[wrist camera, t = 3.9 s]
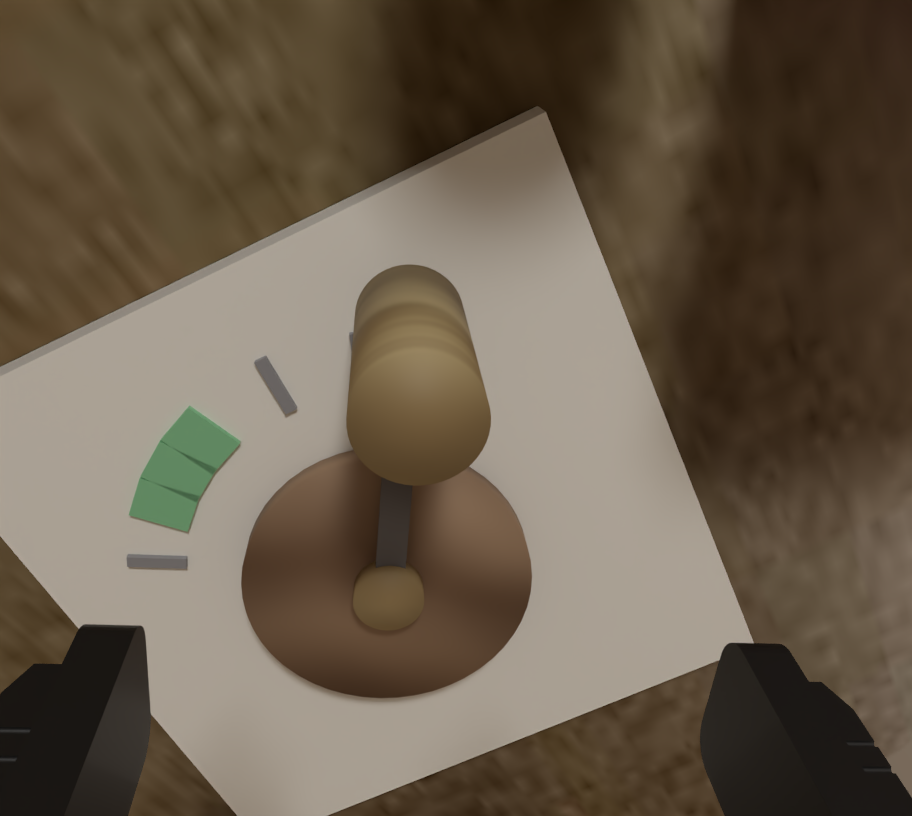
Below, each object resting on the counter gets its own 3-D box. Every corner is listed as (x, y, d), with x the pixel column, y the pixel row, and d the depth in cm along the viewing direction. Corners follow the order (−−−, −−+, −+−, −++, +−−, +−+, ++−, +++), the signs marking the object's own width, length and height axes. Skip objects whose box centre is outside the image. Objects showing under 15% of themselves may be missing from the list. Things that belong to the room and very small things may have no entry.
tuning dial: (510, 681, 34) (547, 880, 26) (246, 676, 33) (205, 882, 25) (575, 263, 27) (651, 368, 19) (242, 239, 26) (183, 341, 18)
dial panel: (-74, 402, 29) (-100, 425, 27) (537, 106, 26) (546, 112, 25) (264, 812, 38) (259, 846, 36) (740, 621, 35) (756, 649, 34)
